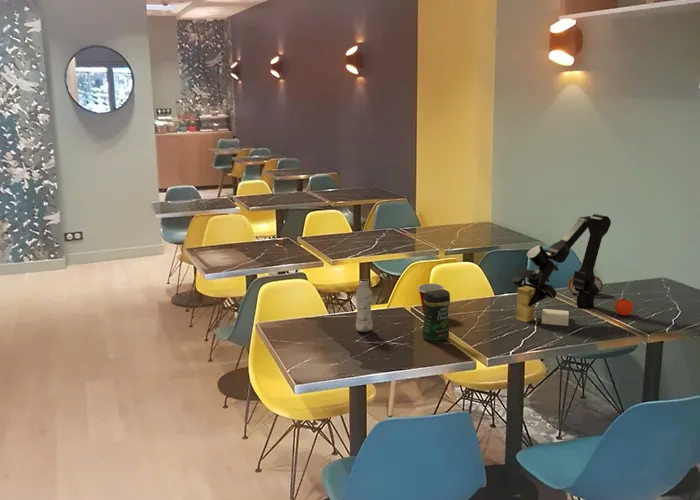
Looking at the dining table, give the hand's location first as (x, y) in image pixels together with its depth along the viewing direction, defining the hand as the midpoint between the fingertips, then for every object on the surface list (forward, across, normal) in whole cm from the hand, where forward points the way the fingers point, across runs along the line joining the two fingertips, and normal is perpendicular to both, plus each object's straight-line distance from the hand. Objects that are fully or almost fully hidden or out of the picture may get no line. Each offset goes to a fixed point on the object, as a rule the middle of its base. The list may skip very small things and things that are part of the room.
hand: (523, 304), depth 283 cm
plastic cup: (+22, -27, -13) cm, 37 cm away
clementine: (-22, +21, +32) cm, 44 cm away
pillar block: (+4, 0, +6) cm, 7 cm away
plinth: (-2, +8, +11) cm, 14 cm away
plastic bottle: (+46, -28, -36) cm, 65 cm away
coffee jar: (+35, -5, -25) cm, 43 cm away
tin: (-31, -8, +41) cm, 52 cm away
